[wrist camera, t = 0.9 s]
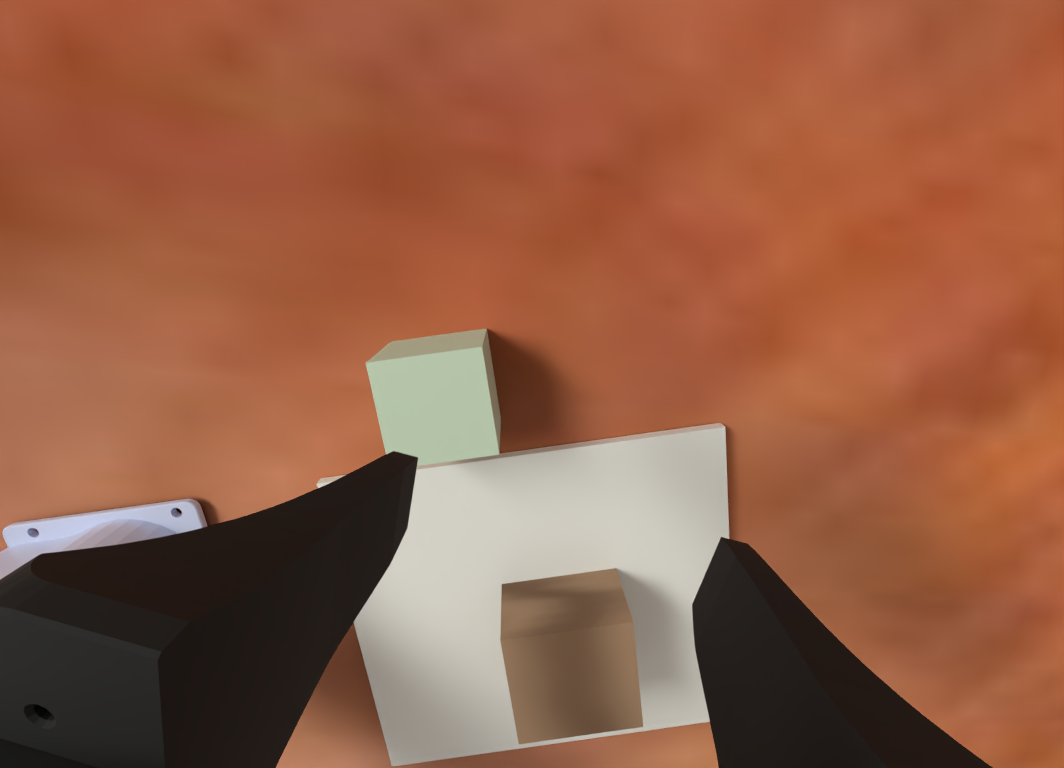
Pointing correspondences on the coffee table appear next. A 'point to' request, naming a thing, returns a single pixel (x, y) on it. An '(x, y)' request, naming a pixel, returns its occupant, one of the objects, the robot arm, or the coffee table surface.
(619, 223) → the coffee table surface
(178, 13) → the coffee table surface
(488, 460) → the baseplate
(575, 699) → the walnut block
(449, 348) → the sage block
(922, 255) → the coffee table surface
